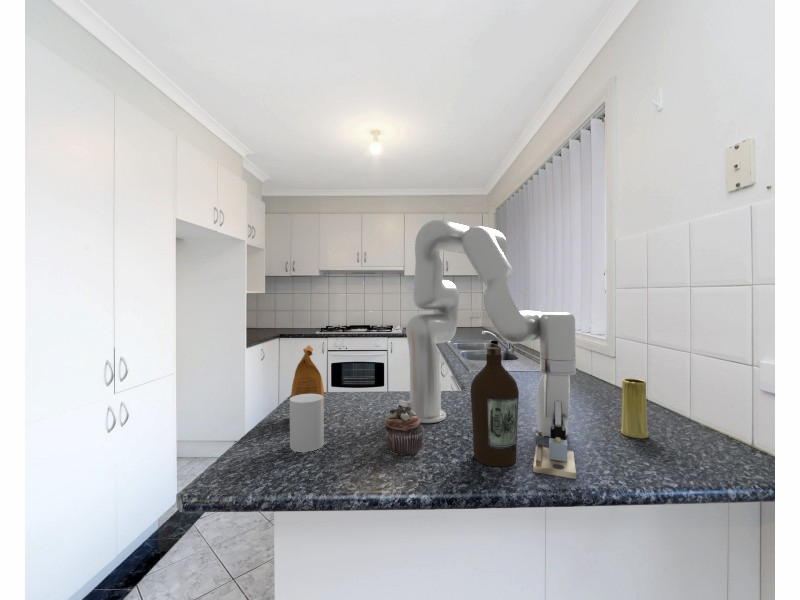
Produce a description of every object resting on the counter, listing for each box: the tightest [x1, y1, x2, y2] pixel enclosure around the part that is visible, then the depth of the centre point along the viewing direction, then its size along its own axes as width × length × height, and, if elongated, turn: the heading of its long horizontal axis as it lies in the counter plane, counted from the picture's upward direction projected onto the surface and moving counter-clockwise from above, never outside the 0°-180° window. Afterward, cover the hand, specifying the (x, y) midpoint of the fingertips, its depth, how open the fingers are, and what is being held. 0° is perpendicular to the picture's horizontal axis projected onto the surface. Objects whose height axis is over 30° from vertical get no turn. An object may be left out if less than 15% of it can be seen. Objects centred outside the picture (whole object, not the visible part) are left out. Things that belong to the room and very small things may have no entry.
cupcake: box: [384, 404, 425, 455], centre depth 88 cm, size 10×10×10 cm
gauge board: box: [532, 431, 577, 480], centre depth 79 cm, size 8×11×5 cm
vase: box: [620, 378, 649, 439], centre depth 96 cm, size 6×6×14 cm
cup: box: [289, 394, 325, 452], centre depth 90 cm, size 8×8×12 cm
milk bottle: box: [536, 373, 569, 438], centre depth 97 cm, size 8×8×20 cm
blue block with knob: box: [548, 437, 568, 462], centre depth 79 cm, size 4×3×4 cm
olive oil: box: [470, 346, 520, 468], centre depth 82 cm, size 11×11×25 cm
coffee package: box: [290, 345, 325, 408], centre depth 109 cm, size 10×12×22 cm
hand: (558, 445), depth 83 cm, fingers closed
